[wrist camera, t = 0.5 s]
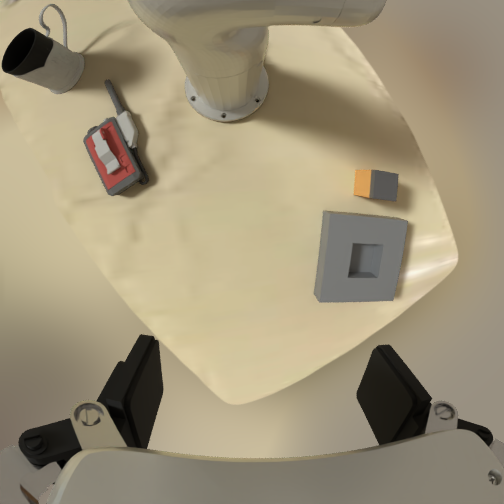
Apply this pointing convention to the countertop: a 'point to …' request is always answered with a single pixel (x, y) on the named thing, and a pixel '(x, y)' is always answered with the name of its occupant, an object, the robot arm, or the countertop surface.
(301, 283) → the countertop surface
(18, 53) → the grey and black mug
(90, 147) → the walkie-talkie
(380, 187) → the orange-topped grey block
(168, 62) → the countertop surface
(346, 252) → the socket plate
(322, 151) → the countertop surface
